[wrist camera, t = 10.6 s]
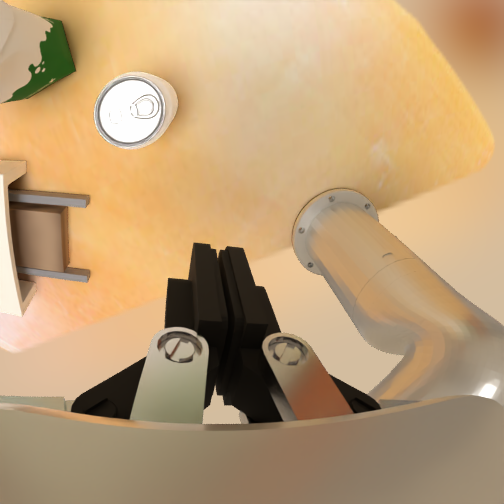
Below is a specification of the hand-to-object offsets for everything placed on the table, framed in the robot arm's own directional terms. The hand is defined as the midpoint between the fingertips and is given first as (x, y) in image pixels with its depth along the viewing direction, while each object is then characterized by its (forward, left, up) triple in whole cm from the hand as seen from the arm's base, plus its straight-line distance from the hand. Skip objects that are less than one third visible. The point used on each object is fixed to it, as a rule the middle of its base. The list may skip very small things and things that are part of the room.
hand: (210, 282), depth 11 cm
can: (+6, -4, -27) cm, 28 cm away
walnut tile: (+20, +13, -28) cm, 37 cm away
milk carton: (+20, -9, -27) cm, 35 cm away
